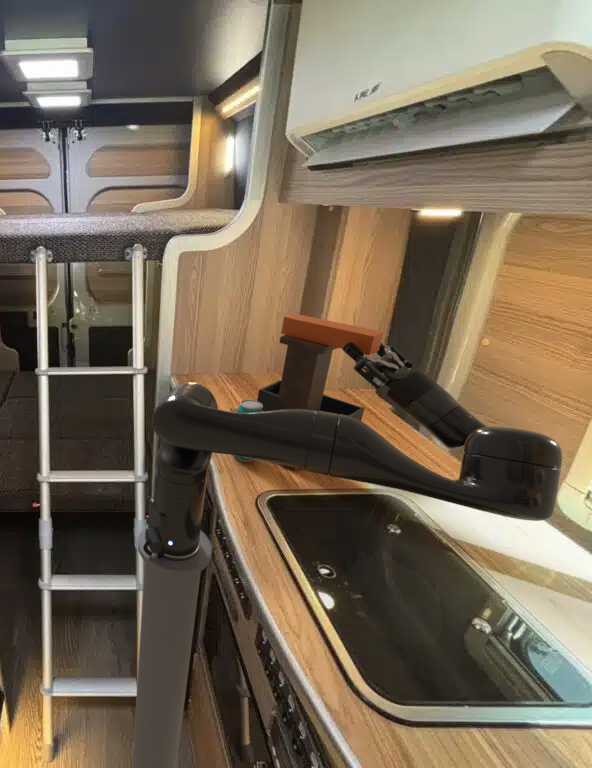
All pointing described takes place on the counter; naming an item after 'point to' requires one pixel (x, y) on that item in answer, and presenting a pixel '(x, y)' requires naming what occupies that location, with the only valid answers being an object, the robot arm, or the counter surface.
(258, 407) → the beverage can
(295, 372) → the pedestal
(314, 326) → the orange rectangular bar
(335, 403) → the black storage bin
